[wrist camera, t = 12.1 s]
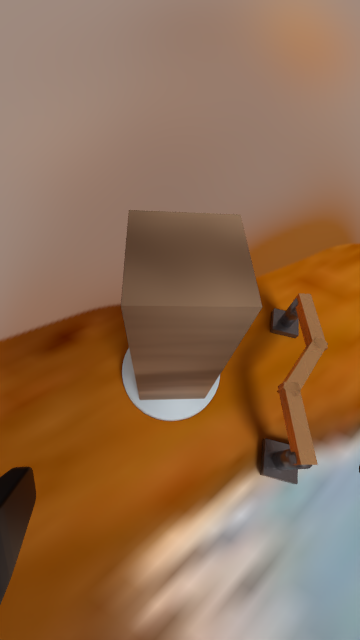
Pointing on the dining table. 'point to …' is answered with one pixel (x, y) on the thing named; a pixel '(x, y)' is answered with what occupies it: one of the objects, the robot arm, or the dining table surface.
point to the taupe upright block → (185, 299)
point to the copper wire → (294, 393)
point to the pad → (162, 408)
